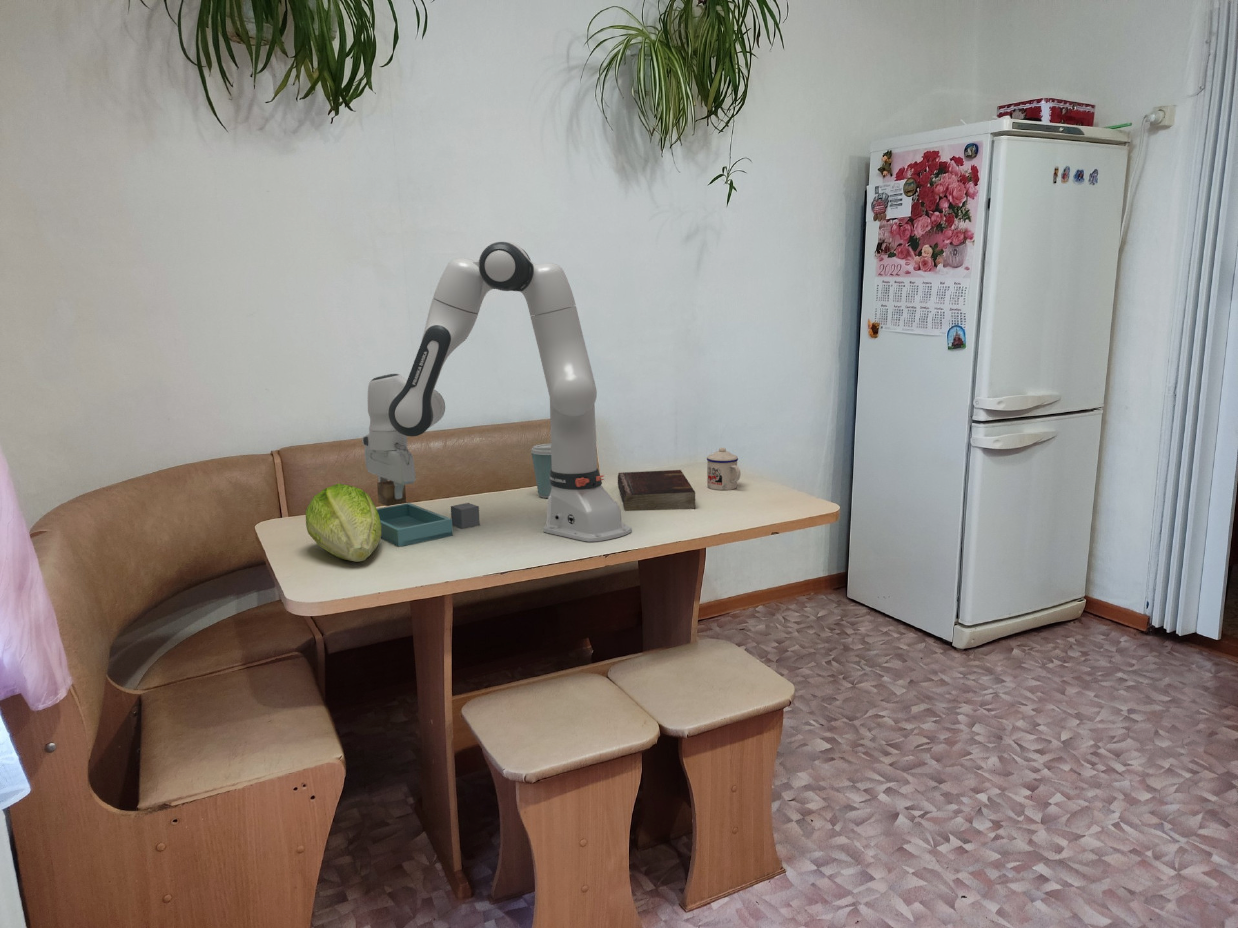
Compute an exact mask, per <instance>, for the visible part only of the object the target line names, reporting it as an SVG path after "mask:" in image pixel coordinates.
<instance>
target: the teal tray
mask: <svg viewBox="0 0 1238 928" xmlns="http://www.w3.org/2000/svg"><path fill="white" fill-rule="evenodd" d="M376 509H377V511H378V514H379V518H380V522H381V538H380V540H384V541H385V542H387V543H388V544H389V543H390V544H391V545H394V546H395V547H398V548H401V547H405V546H410V545H413V544H419V543H423V542H427V541H434V540H438V539H442V538H447V537H451V536H454V535H453V533H454V532H453V526H452V519H451V518H450V517H447V516H445V515H442V514H440V513H437V512H434V511H432V510H429V509H427V508H423V507H421V506H418V505H416V504H414V503H411V502H408V503H407V502H406V503H402V504H397V505H391V506H385V507H379V508H376Z"/></svg>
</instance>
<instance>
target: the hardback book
mask: <svg viewBox="0 0 1238 928" xmlns="http://www.w3.org/2000/svg"><path fill="white" fill-rule="evenodd" d="M617 486H618V489H619V494H620V498H621V501H622V505H623V509H624V511H625V512H634V511H636V512H638V511H639V512H640V511H667V510H668V511H669V510H670V511H671V510H672V511H673V510H676V511H677V510H695V509H696V491H695V489H694V488H693V487H692V485H691V483H690V481H688V479H687V477H686V476H685V475H684V473H683V471H682V469H673V470H672V469H670V470H667V469H665V470H649V471H647V470H646V471H627V472H618V474H617Z"/></svg>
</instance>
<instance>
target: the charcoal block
mask: <svg viewBox="0 0 1238 928" xmlns="http://www.w3.org/2000/svg"><path fill="white" fill-rule="evenodd" d="M450 516H451V518H450V519H452V527H455V528H458V529H461V530H465V529H466V530H467V529H470V528H474V527H479V526H481V525H480V506H479V505H477V504H473V503H470V502H466V503H461V504H455V505H451V506H450Z"/></svg>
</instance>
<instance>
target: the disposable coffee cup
mask: <svg viewBox="0 0 1238 928" xmlns="http://www.w3.org/2000/svg"><path fill="white" fill-rule="evenodd" d="M530 453H531V458H532V464H533V470H534V476H535V481H536V488H537V493H538V495H539V497H540V498H543V499H548V497H549V495H550V492H551V489H552V485H551V484H550V470H551V469H552V461H551V442H550V443H543V444H536V445H533V446H532V448H531V450H530Z"/></svg>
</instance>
